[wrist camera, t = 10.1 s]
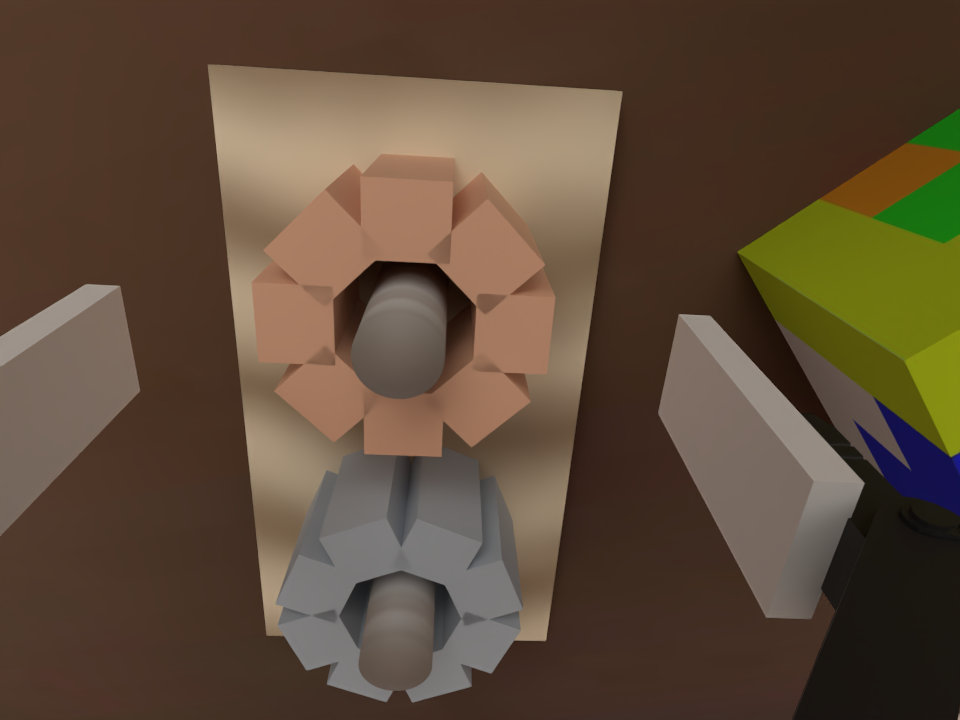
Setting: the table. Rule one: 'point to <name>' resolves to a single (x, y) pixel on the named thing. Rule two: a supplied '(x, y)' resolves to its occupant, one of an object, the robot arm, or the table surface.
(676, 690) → the table surface
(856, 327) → the puzzle toy
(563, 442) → the gear board
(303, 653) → the gear
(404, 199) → the loose gear
